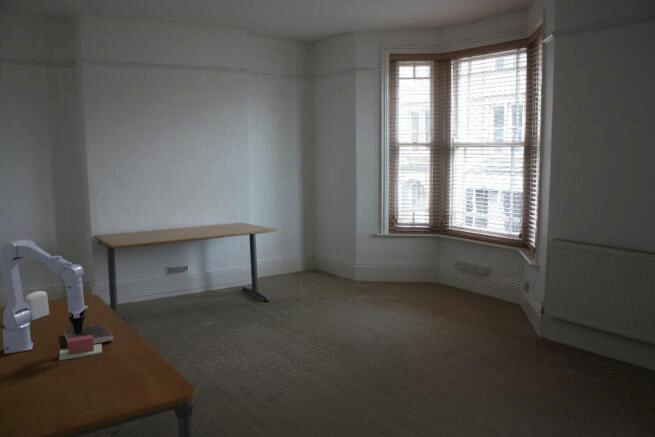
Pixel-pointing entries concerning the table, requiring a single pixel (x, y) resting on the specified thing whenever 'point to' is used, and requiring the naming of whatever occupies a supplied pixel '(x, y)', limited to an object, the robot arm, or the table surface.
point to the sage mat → (65, 355)
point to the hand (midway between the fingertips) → (78, 330)
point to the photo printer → (38, 304)
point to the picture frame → (92, 333)
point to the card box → (80, 344)
